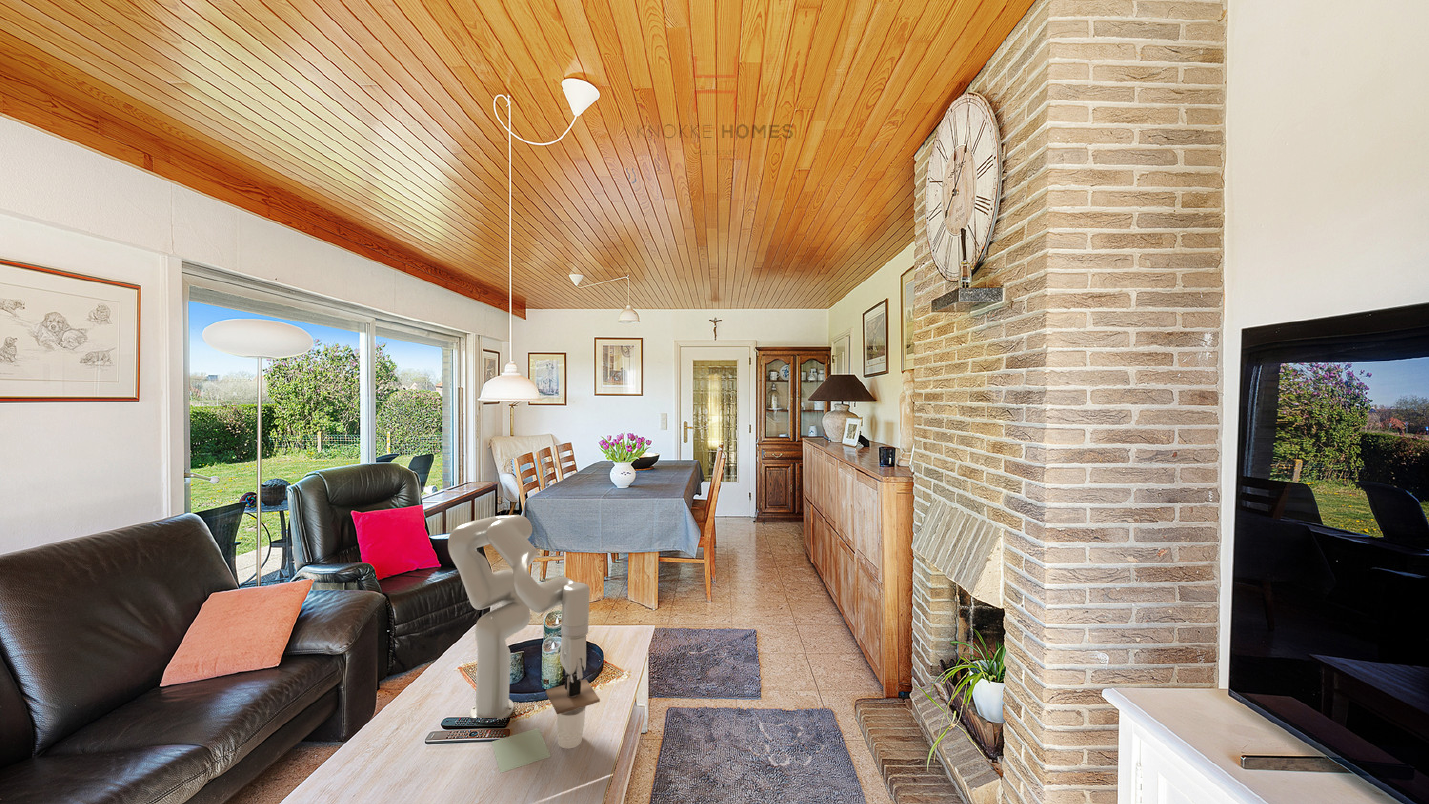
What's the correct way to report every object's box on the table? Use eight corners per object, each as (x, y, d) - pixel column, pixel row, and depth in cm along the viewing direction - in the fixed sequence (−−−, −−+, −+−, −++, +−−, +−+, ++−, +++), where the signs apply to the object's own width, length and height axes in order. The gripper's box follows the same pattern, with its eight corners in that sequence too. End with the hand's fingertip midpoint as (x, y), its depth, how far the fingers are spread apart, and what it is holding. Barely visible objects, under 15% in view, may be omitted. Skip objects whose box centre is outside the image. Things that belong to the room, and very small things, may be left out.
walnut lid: (545, 692, 151) (546, 672, 151) (586, 681, 157) (586, 662, 157) (557, 714, 141) (557, 693, 141) (599, 701, 147) (600, 681, 147)
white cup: (576, 753, 144) (577, 717, 144) (550, 748, 146) (552, 713, 146) (588, 735, 152) (590, 701, 152) (564, 731, 154) (565, 697, 154)
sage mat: (491, 743, 147) (491, 741, 147) (538, 729, 154) (538, 727, 154) (500, 774, 135) (500, 772, 135) (550, 757, 142) (551, 756, 142)
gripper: (553, 619, 154) (551, 681, 154) (570, 642, 140) (568, 710, 140) (578, 614, 158) (576, 674, 158) (597, 636, 144) (594, 702, 144)
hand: (572, 690), depth 149 cm, fingers closed on walnut lid, 3 cm apart
